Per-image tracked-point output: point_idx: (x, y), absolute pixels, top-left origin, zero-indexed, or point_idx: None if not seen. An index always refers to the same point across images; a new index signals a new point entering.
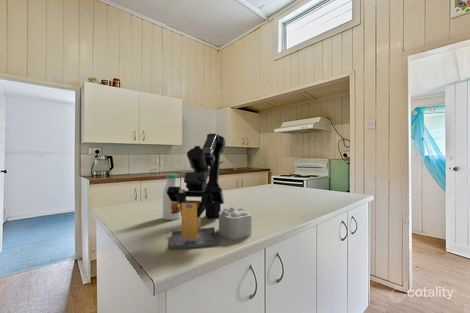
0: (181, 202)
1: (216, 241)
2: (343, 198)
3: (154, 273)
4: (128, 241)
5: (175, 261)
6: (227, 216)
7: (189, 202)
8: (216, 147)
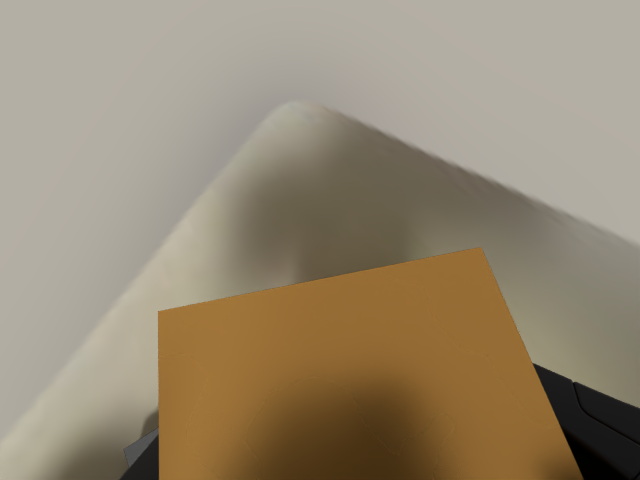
0: (618, 425)
1: (142, 446)
2: None
3: (319, 113)
4: None
5: (297, 196)
6: None
7: (353, 339)
8: None
